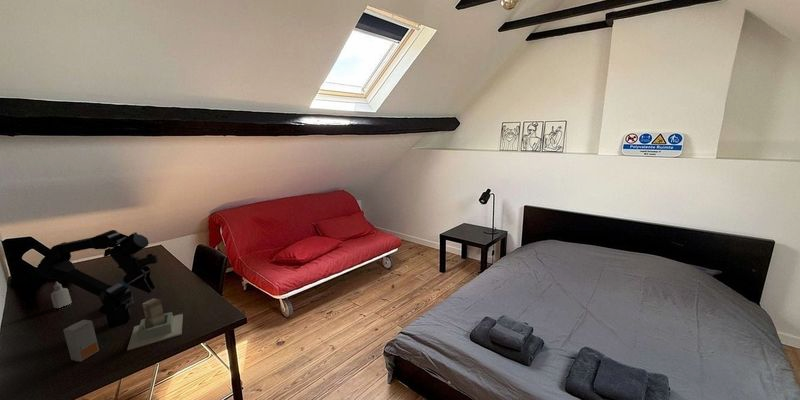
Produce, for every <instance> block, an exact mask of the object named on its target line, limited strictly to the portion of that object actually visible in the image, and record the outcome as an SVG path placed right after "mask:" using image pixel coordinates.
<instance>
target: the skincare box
mask: <svg viewBox="0 0 800 400" xmlns="http://www.w3.org/2000/svg"><path fill="white" fill-rule="evenodd" d="M63 334H64V338H65V341H66V345H67V349H68V352H69V356H70V361H73V360H74V362H83V361H84V360H86V359H88V358H89V357H91V356H93V355H94V354H95V353H97V352H99V351H100V348H99V343H98V340H97V334H96V332H95V327H94V322H93V320H88V319H82V320H80V321H77V322H75V323H72V324H71V325H69V326H68V327H66V328H63Z"/></svg>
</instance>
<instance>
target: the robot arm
mask: <svg viewBox="0 0 800 400" xmlns="http://www.w3.org/2000/svg"><path fill="white" fill-rule="evenodd" d="M148 246H149V239H148V238H147V237H146V236H144V235H142V234H138V233H137V232H133V233H131V234H129V235H126V234H124V233H120V232H119V231H118V230H114V229H110V230H108V231H105V232H103V233H100V234H97V235H95V236H93V237H92V236H91V237H89V238H88V237H87V238H82V239H77V240H73V241H69V242H66V241H65V242H62V243H58V244H55V245H53V246H52V247H51V248H50V249H49V251H48V253H46V255H45V256H44V257H43V258H41V260H40V262H39V263H38V265H37V266H36V271H37V273H38V274H39V275H40V276H42V277H45V278H47V279H51V280H52V279H53V280H64V281H65V282H68V283H70V284H72V285H74V286H76V287H79V288H81V289H82V290H84V291H85V292H89V293H91V294H93V295H95V296H97V297H98V299H99V300H100V303H101V304H102V305H101V306H100V308H99V309H98V310H99V312H100V314H101V315H105V316H106V320H107V328H109V329H110V328H112V327H116V326H120V325H121V326H122V325H123V324H128V323H129V321H130V320H131V317H132V314H131V309H130V306H127V303H129V302H130V299H131V297H132V296H133V292H132V289H131V290H129V289H128V287H125V286H123V285H122V284H120V282H117V283H115V284H113V285H110V284H107V283H105V282H103V281H101V280H99V279H97V278H95V277H94V276H91V275H89V274H87V273H85V272H83V271H81V270H78V269H77V268H75V266H74V264H73V262H72V261H71V258H72V254H71V253H74V252H80V251H86V250H89V249H91V250H92V249H94V250H104V253H103V258H107V257H109V256H110V257H111V259H112V260H113V261H114V262H115V263H116V264H117V267H118V269H121V270H122V272H123V273H124V276H123V278H122V281H124V282H125V283H126V284H127V283H129V282H130V284H128V285H130V287H133V288H136V289H137V290H138V289H139V290H140V291H142V292H145V293H148V294H150V293H151V292H152V290H154V289H155V288H156V286H155V284H154V282H153V280H152V277H151V273H152V271H153V270H152V267H151V266H150V265H151V264H153V265H154V264H157V263H159V259H158V256H157V254H153V253H148V254H147V255H146V257H142V258H139V257H138V256H135V254H137V253H138V252H140V251H142V250H143V249H145V248H147V247H148ZM125 274H126V275H125ZM131 292H132V293H131Z"/></svg>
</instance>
